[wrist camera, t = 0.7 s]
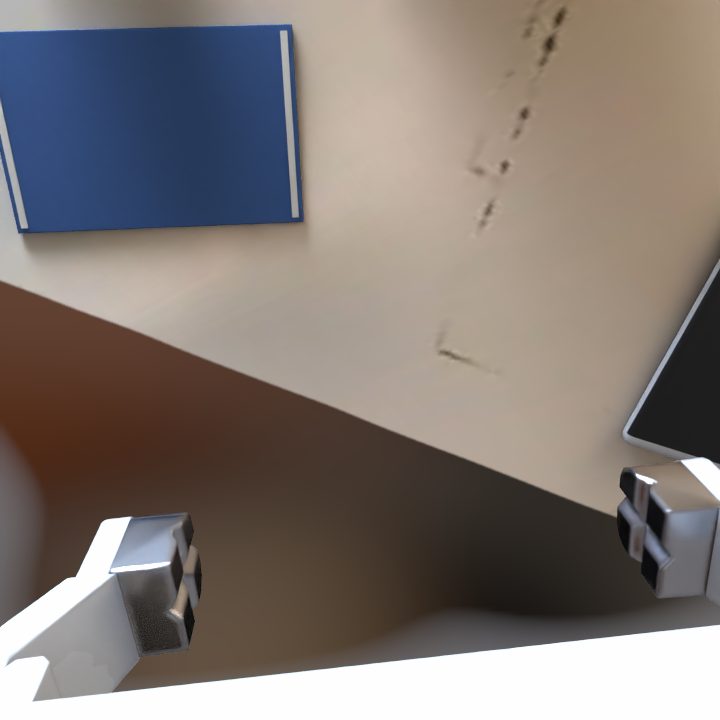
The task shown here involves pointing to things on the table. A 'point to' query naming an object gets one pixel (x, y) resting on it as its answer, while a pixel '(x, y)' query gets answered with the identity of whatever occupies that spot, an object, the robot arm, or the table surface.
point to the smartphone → (685, 388)
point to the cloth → (150, 127)
